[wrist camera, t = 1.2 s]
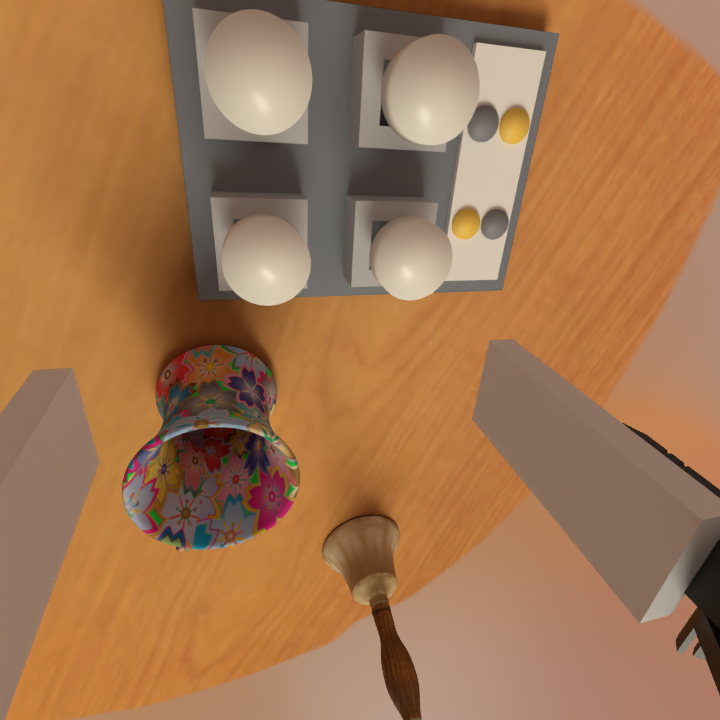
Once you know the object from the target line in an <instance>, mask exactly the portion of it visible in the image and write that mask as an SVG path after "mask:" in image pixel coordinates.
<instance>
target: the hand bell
mask: <svg viewBox="0 0 720 720" xmlns="http://www.w3.org/2000/svg"><path fill="white" fill-rule="evenodd" d="M398 543H399V530H398V528H397V526H396V525H395V523H394V522H393V521H391V520H389V519H387V518H384V517H381V516H364V517H360V518H356V519H352V520H350V521H348V522H346V523H344V524H342V525H341V526H339V527H338V528H336V529H335V530H334V531H333V532H332V533H331V534H330V535H329V536H328V538H327V539H326V541H325V543H324V546H323V551H322V552H323V558H324V560H325V562H326V563H327V564H328V566H329V567H331V568H332V569H333V570H335V571H337V572H339V573H341V574H342V575H343V577H344V578H345V580H346V582H347V584H348V586H349V588H350V591H351V594H352V596H353V598H354V599H355V600H356V601H357V602H358V603H361V604H364V605H370V606H371V609H372V615H373V617H374V620H375V624H376V627H377V630H378V633H379V636H380V641H381V663H382V670H383V676H384V679H385V684H386V687H387V690H388V693H389V695H390V697H391V699H392V701H393V703H394V705H395V706H396V708H397V710H398V711H399V713H400V714H401V716H402V718H403V720H421V712H420V694H419V693H420V692H419V683H418V678H417V674H416V671H415V669H414V665H413V662H412V660H411V657H410V655H409V653H408V651H407V650H406V648H405V646H404V645H403V643H402V642H401V640H400V638H399V636H398V634H397V632H396V629H395V625H394V621H393V618H392V614H391V610H390V606H389V601H388V598H389V597H390V596H391V595H392V594H393V593H394V591H395V589H396V587H397V579H396V575H395V569H394V562H393V555H394V552H395V551H396V549H397V547H398Z"/></svg>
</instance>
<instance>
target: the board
mask: <svg viewBox="0 0 720 720" xmlns="http://www.w3.org/2000/svg"><path fill="white" fill-rule="evenodd" d="M163 5H164V14H165V22H166V30H167V39H168V47H169V55H170V64H171V72H172V81H173V89H174V97H175V106H176V114H177V122H178V131H179V139H180V147H181V156H182V164H183V172H184V181H185V189H186V198H187V206H188V214H189V223H190V231H191V239H192V248H193V256H194V264H195V273H196V281H197V289H198V298H199V300H226V299H243V298H241V297H240V296H238V295H237V294H236V293H235V292H234V291H233V290H232V289H231V287H230V286H229V284H228V283H227V281H226V279H225V277H224V273H223V269H222V247H223V242H224V239H225V237H226V235H227V233H228V231H229V230H230V229H231V227H232V226H233V225H234V224H235V223H236V222H238V221H239V220H241V219H242V218H244V217H247V216H249V215H253V214H259V213H266V214H273V215H276V216H279V217H281V218H283V219H285V220H287V221H288V222H290V223H291V224H292V225H293V226H294V227H295V228H296V229H297V230H298V232H299V233H300V235H301V236H302V238H303V240H304V241H305V243H306V245H307V247H308V250H309V253H310V258H311V270H310V274H309V277H308V280H307V282H306V284H305V286H304V287H303V289H302V290H301V291H300V292H299V293H298V294H297V295H296V296H295V297H317V296H347V295H377V294H390V293H389V292H388V291H386V289H385V288H384V287H383V286H382V285H381V284H380V283H379V282H378V281H377V280H376V278H375V277H374V275H373V273H372V271H371V268H370V262H369V253H370V248H371V244H372V242H373V240H374V238H375V236H376V234H377V233H378V232H379V230H380V229H381V228H382V227H383V226H384V225H385V224H387V223H388V222H390V221H391V220H393V219H395V218H398V217H402V216H417V217H420V218H423V219H425V220H427V221H429V222H431V223H433V224H435V225H436V226H438V227H439V228H441V229H442V230H443V231H444V232H445V233H446V235H447V236H448V238H449V240H450V243H451V246H452V254H453V258H452V264H451V268H450V271H449V273H448V276H447V277H446V279H445V281H444V282H443V283H442V285H441V286H440V287H439V288H438V289H437V290H435V291H434V292H433V293H437V292H467V291H497V290H502V288H503V284H504V279H505V275H506V270H507V266H508V261H509V257H510V253H511V248H512V244H513V239H514V235H515V230H516V226H517V221H518V217H519V212H520V208H521V203H522V199H523V194H524V190H525V185H526V181H527V176H528V172H529V167H530V163H531V158H532V154H533V150H534V145H535V141H536V136H537V132H538V127H539V123H540V118H541V114H542V109H543V105H544V100H545V96H546V91H547V87H548V82H549V78H550V73H551V69H552V64H553V60H554V55H555V51H556V46H557V42H558V38H559V34H558V33H551V32H544V31H537V30H530V29H523V28H516V27H509V26H502V25H495V24H488V23H481V22H474V21H468V20H461V19H454V18H447V17H440V16H433V15H426V14H419V13H412V12H405V11H398V10H391V9H384V8H377V7H370V6H363V5H356V4H349V3H342V2H335V1H328V0H163ZM247 9H257V10H262V11H266V12H269V13H271V14H273V15H275V16H277V17H279V18H280V19H282V20H283V21H284V22H286V23H287V24H288V25H289V26H290V27H291V28H292V29H293V30H294V31H295V33H296V34H297V35H298V37H299V38H300V40H301V41H302V43H303V45H304V47H305V49H306V51H307V54H308V56H309V60H310V64H311V70H312V91H311V96H310V100H309V103H308V105H307V108H306V110H305V111H304V113H303V115H302V116H301V117H300V119H299V120H298V121H297V122H296V123H295V124H294V125H293V126H291V127H290V128H288V129H287V130H285V131H283V132H280V133H277V134H272V135H258V134H253V133H249V132H247V131H245V130H242V129H241V128H239V127H237V126H236V125H234V124H233V123H232V122H230V121H229V120H228V119H227V118H226V117H225V116H224V115H223V114H222V112H221V111H220V110H219V109H218V107H217V106H216V104H215V102H214V100H213V99H212V97H211V94H210V92H209V89H208V86H207V82H206V78H205V71H204V58H205V51H206V46H207V43H208V40H209V38H210V36H211V34H212V32H213V30H214V29H215V28H216V26H217V25H218V24H219V23H220V22H221V21H222V20H223V19H224V18H226V17H227V16H229V15H230V14H232V13H235V12H237V11H241V10H247ZM433 34H445V35H450V36H452V37H454V38H456V39H458V40H459V41H461V42H462V43H463V44H464V45H465V46H466V47H467V48H468V49H469V51H470V52H471V54H472V55H473V58H474V60H475V62H476V65H477V68H478V73H479V80H480V90H479V98H478V103H477V106H476V109H475V112H474V114H473V116H472V118H471V120H470V122H469V123H468V125H467V126H466V127H465V129H464V130H463V131H462V132H461V133H460V134H459V135H458V136H456V137H455V138H453V139H452V140H450V141H448V142H446V143H443V144H439V145H424V144H417V143H411V142H408V141H406V140H404V139H402V138H401V137H399V136H398V135H397V134H396V133H395V132H394V131H393V130H392V129H391V127H390V126H389V124H388V123H387V120H386V118H385V116H384V113H383V109H382V104H381V86H382V80H383V76H384V73H385V71H386V68H387V66H388V64H389V62H390V61H391V59H392V58H393V57H394V55H395V54H396V53H397V52H398V51H399V50H400V49H401V48H403V47H404V46H405V45H407V44H409V43H411V42H413V41H416V40H418V39H421V38H423V37H425V36H429V35H433Z"/></svg>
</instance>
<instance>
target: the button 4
mask: <svg viewBox="0 0 720 720" xmlns="http://www.w3.org/2000/svg"><path fill="white" fill-rule="evenodd" d="M479 90H480V80H479V73H478V68H477V65H476V62H475V60H474V58H473V55H472V54H471V52H470V51H469V49H468V48H467V47H466V46H465V45H464V44H463V43H462V42H461V41H459V40H458V39H456V38H454V37H452V36H450V35H445V34H433V35H429V36H425V37H423V38H421V39H418V40H416V41H413V42H411V43H409V44H407V45H405V46H404V47H403V48H401V49H400V50H399V51H398V52H397V53H396V54H395V55H394V57H393V58H392V59H391V61H390V62H389V64H388V66H387V68H386V71H385V73H384V76H383V80H382V86H381V104H382V109H383V113H384V116H385V118H386V120H387V123H388V124H389V126H390V127H391V129H392V130H393V131H394V132H395V133H396V134H397V135H398V136H399V137H401V138H402V139H404V140H406V141H408V142H411V143H417V144H424V145H439V144H443V143H446V142H448V141H450V140H452V139H453V138H455V137H456V136H458V135H459V134H460V133H461V132H462V131H463V130H464V129H465V127H466V126H467V125H468V123H469V122H470V120H471V118H472V116H473V114H474V112H475V109H476V106H477V103H478V98H479Z"/></svg>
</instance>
